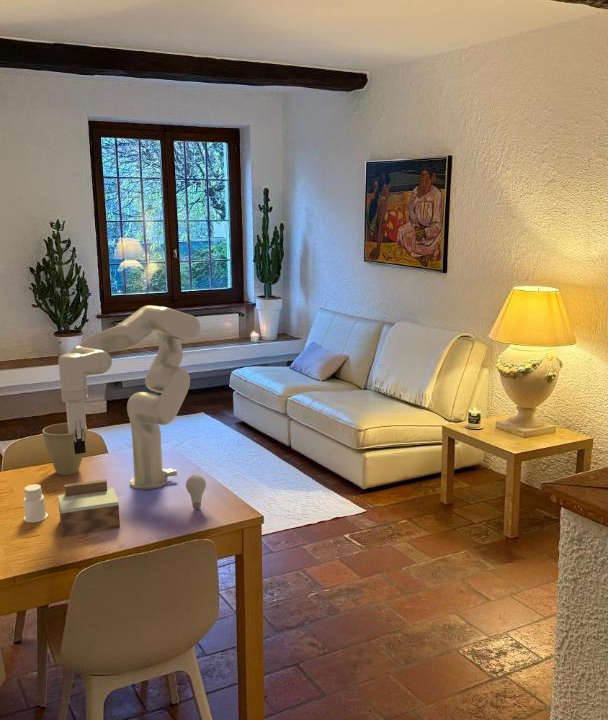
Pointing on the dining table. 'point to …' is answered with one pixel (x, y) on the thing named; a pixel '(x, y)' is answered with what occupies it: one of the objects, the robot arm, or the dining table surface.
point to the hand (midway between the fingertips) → (80, 452)
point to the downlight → (34, 504)
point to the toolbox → (89, 520)
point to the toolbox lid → (87, 496)
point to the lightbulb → (196, 489)
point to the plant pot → (62, 449)
